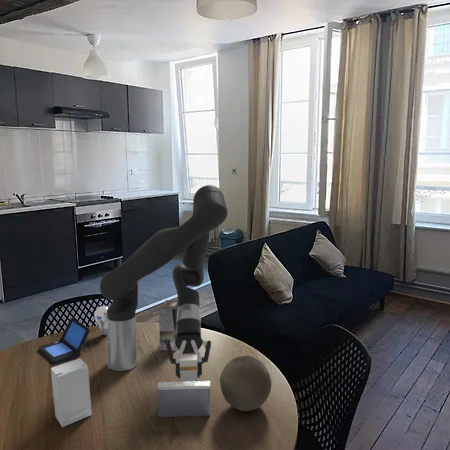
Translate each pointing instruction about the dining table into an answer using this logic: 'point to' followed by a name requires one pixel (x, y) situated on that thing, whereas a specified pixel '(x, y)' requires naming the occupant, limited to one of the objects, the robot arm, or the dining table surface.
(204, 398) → the grey flat box
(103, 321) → the light bulb
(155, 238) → the robot arm
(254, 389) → the cantaloupe
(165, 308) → the coffee box
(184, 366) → the block
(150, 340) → the dining table surface
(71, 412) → the skincare box
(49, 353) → the handheld game console
